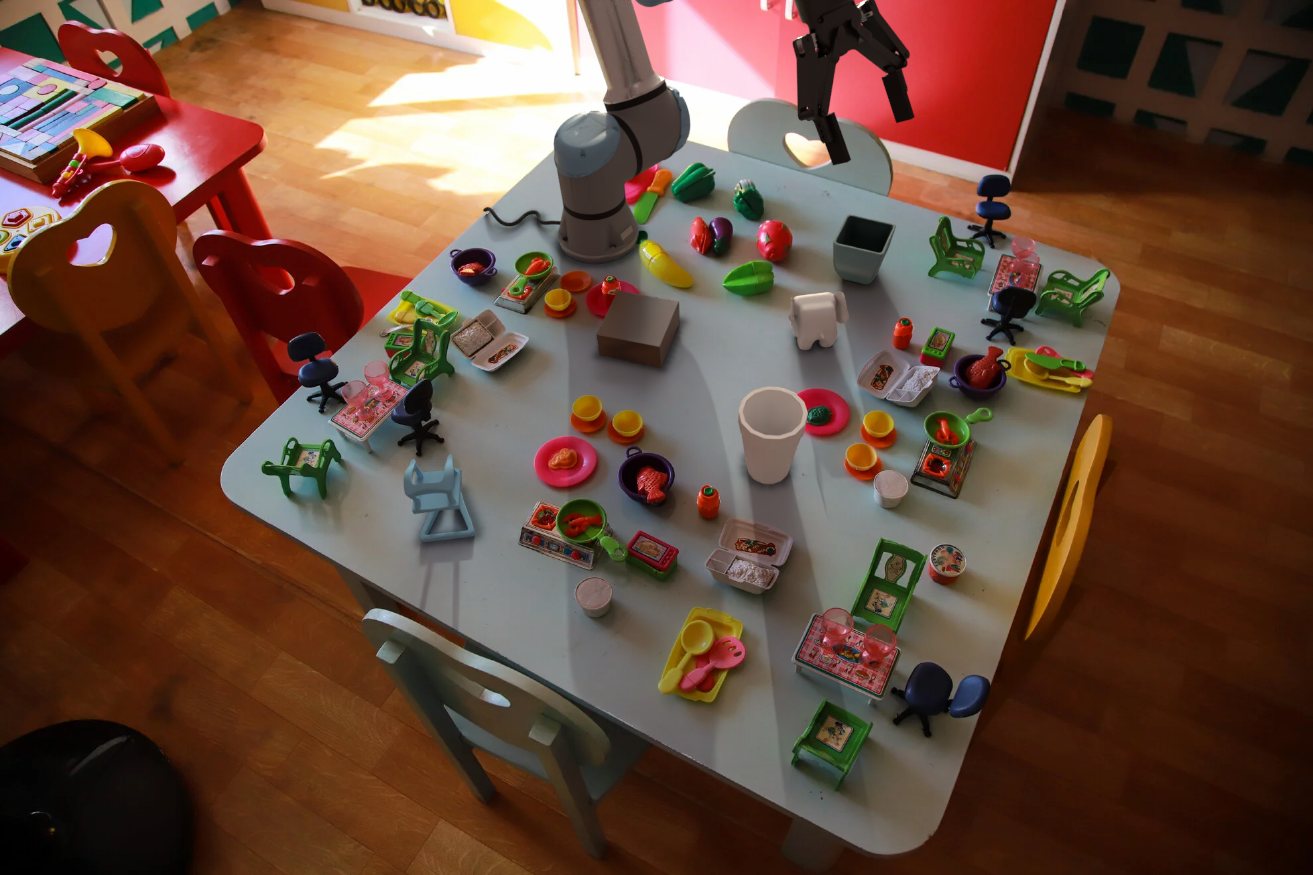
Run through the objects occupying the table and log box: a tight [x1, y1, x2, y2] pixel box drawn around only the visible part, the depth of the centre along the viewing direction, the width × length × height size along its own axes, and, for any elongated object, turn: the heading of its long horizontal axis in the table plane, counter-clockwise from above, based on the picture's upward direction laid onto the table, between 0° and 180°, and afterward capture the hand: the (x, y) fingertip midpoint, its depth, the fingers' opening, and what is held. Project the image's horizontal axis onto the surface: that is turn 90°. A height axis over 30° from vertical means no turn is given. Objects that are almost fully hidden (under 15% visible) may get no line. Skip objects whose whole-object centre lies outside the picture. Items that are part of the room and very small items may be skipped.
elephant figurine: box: [788, 291, 850, 351], centre depth 136 cm, size 10×12×9 cm
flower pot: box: [832, 213, 897, 286], centre depth 144 cm, size 9×9×9 cm
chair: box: [403, 454, 476, 543], centre depth 116 cm, size 8×8×12 cm
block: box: [595, 290, 681, 368], centre depth 139 cm, size 11×11×5 cm
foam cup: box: [737, 386, 809, 485], centre depth 118 cm, size 10×9×13 cm
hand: (874, 141), depth 112 cm, fingers open, 13 cm apart
